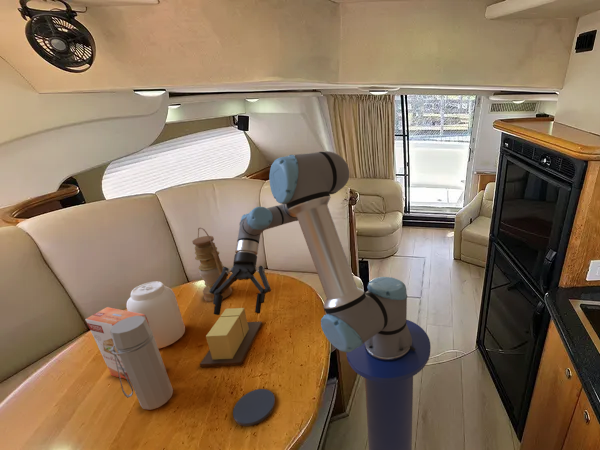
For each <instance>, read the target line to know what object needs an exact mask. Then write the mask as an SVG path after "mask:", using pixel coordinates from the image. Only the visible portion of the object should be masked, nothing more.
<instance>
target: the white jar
mask: <svg viewBox="0 0 600 450" xmlns="http://www.w3.org/2000/svg"><path fill="white" fill-rule="evenodd" d="M177 300H178V299H177V297H176V294H175V291H173V289H172V288H171V287H169V286H166V285H165V284H164V283H163V282H162V281H157V280H156V281H148V282H145V283H141V284H140V285H137V286H135V287H134V288H133V289H131V291H130V297H129V298H128V299H127V301H126V311H130V312H135V313H140V314H145V315H146V317H147V320H148V322H149V325H150V328H151V330H152V333H153V336H154V338H155V341H156V344H157V347H158V349H159V350H160V349H162V348H166V347H168V346H170V345H172V344H175V342H177V341H178V340H179V339H181V338H182V337H183V335H184V334H185V333H186V326H185V323H184V320H183V316H182V313H181V309H180V306H179V304H178V301H177Z"/></svg>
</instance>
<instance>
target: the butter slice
mask: <svg viewBox="0 0 600 450" xmlns="http://www.w3.org/2000/svg"><path fill="white" fill-rule="evenodd" d="M231 316H239V319H240V323H241V327H242V332H243V336H244V337H245V336H246V334H247V332H248V330H249V327H248V323H247V322H248V318H247V315H246V310H245V307H233V308H232V307H231V308H230V307H229V308H225V309H224V310H223V312H222V313H221V314H220V317H231Z"/></svg>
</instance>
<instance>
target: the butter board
mask: <svg viewBox="0 0 600 450" xmlns="http://www.w3.org/2000/svg"><path fill="white" fill-rule="evenodd" d="M247 323H248V327H249V330H248V332H247V334H246V336H245V337H244V339H243V341H242V343H241V344H240V346H239V348H238V350H237V352H236V353H235V355H234V357H233V359H215V360H212V356H211V353H210V349H209V350H208V351H207V352H206V354H205V356H204V357H203V359H202V360H201V362H200V363H199V366H200V368H208V367H227V366H241V365H243V363H244V361H245V359H246V357H247V354H248V353H249V351H250V349H251V347H252V345H253V343H254V341H255V338H256V337H257V335H258V334H259V331H260V329H261V328H262V325H263V322H262V321H247Z"/></svg>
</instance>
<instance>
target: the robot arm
mask: <svg viewBox="0 0 600 450" xmlns="http://www.w3.org/2000/svg"><path fill="white" fill-rule="evenodd" d="M268 177H269V179H268V180H269V187H270V192H271V195H272V197H273V199H275V201H276V203H278V205H274V206H270V207H266V206H256V207H254V208H252V209H251V210H250V211H249V212H248V213H245V214H242V216H241V218H240V222H239V228H238V233H237V234H238V235H237V240H236V245H235V251H234V252H235V254H234V256H233V263H232V267H226V266H224V268H223V271H222V273H221V275H220V276H219V278H218V279H217V280H216V282H215V283H214V285H213V286H212V288H211V289H210V290H209V292H210V293H212V294H214V301H213V302H212V305H214V309H213V315H216V316H221V310H222V304H223V300H224V299H223V296H222V295H221V294H222V293H223V292H224V291H225V290H226V289H227V288H228V287H229V286H230V287H231V286H232V285H233V284H234V283H235V282H237V281H238V280H239V281H244V280H245V281H248V280H250V281H251V282H252V284H253V285H254V286H255V287H256V289H257V290H258V292H257V294H256V300H255V301H256V302H255V309H254V313H255V314H261V310H262V304H264V303H265V299H266V294H267V293H271V292H272V288H271V285H270V283H269V281H268V278H267V276H266V273H265V271H266V269H265V267H264V266H262V265H259V266H257V261H258V256H257V255H258V254H259V247H260V241H261V235H262V233H263V232H265V231H266V230H270V229H273V228H278V227H280V226H283V225H287V224H289V223H293V222H298V225H299V227H300V229H301V232H302V235H303V237H304V240H305V243H306V246H307V249H308V251H309V255H310V257H311V259H312V262H313V264H314V267H315V270H316V273H317V276H318V279H319V281H320V284H321V287H322V290H323V293H324V295H325V298H326V300H325V302H324V303H323V309H324V312H325V314H324V315H323V317H321V319H320V327H321V330H322V332H323V334H324V336H325V338H326V339H327V341H328V342H329V343H330V344H331V346H333V347H334V348H335V349H337V350H338V351H340V352H341V353H346V352H351V351H353V350H354V349H356V348H357V347H360V346H362V345H363V343H365V349H366V351H367V353H368V354H369V355H370V356H371V357H372V358H374V359H376V360H379V361H385V362H390V361H396V360H399V359H401V358H403V357H405V356H406V355H407V354H408V353H409V352H410V350H412V351H415V348H413V347H412V337H411V334H410V331H409V329H408V326H407V324H406V320H407V319H408V318H407V317H408V316H407V312H408V311H407V310H408V308H407V307H408V294H407V293H408V292H407V286H406V284H405V282H403V281H401V280H400V279H398V278H395V277H392V276H391V277H390V276H378V277H374V278H372V279H371V280H369V282H368V283H367V286H366V287H367V291H365V290H364V289H363V288H361V287H358V286H357V284H356V281H355V278H354V274H353V273H352V270H351V267H350V264H349V261H348V259H347V256H346V253H345V250H344V247H343V245H342V242H341V239H340V236H339V234H338V231H337V228H336V225H335V222H334V219H333V217H332V213H331V211H330V208H329V205H328V204H329V202H330V201H331V195H335V194H336V193H338V192H340V191H341V190H342V189H343V188H344V187H346V185H347V183H348V181H349V177H350V169H349V166H348V163H347V161H346V160H345V159H344V158H343V157H342V156H341V155H339V154H338V153H335V152H334V151H329V150H321V151H316V152H307V153H298V154H288V155H285V156H280V157H278V158H276V159H274V161H272V164H271V166H270V169H269V176H268ZM256 272H257V273H258V275H259V276H260V279H261V283H262V284H261V283H260V281H258V279H257V278H256V276H255V273H256ZM231 273H232V274H231ZM230 274H231V275H230ZM227 277H228V278H227ZM226 278H227V280H226V281H225V279H226ZM224 281H225V282H224ZM223 282H224V283H223ZM262 285H263V286H262Z"/></svg>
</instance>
